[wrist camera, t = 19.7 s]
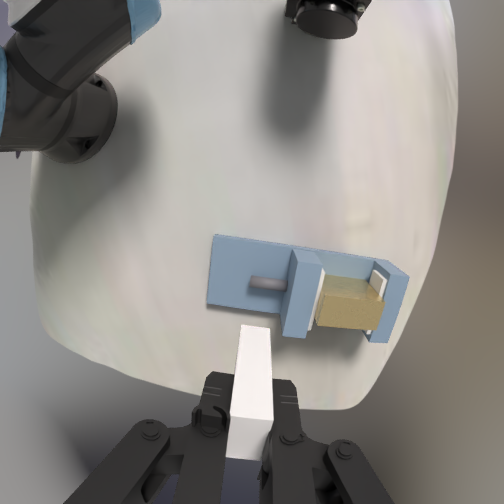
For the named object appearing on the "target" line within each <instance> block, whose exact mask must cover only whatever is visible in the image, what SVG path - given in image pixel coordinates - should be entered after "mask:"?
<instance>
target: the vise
mask: <svg viewBox="0 0 504 504" xmlns="http://www.w3.org/2000/svg"><path fill="white" fill-rule="evenodd" d="M292 249H300V250H306V251H313V252H315V254H316V255H317V257H318V258H319V260H320V261H321V263H322V264H323V267H322V268H323V270H324V271H325V274H327V275H335V276H342V277H349V278H357V279H364V280H366V281H367V282H368V283H369V284H370V285H371V286H372V287H373V289H374V290H375V291H376V292H377V293H378V294H379V295H380V296H381V297H382V298H383V300H384V301H385V302H386V303H385V306H384V309H383V312H382V315H381V318H380V321H379V324H378V327H377V330H362V331H363V333H364V334H365V336H366V338H367V340H368V341H369V342H373V343H388V340H389V338H390V335H391V332H392V330H393V327H394V324H395V321H396V318H397V316H398V313H399V310H400V307H401V304H402V301H403V297H404V294H405V291H406V288H407V284H408V281H409V276H408V275H407V274H405V273H404V272H403V271H401V270H400V269H399V268H397V267H396V266H395V265H393V264H392V263H391V262H389V261H388V260H382V259H376V258H370V257H363V256H357V255H351V254H345V253H338V252H332V251H325V250H319V249H312V248H306V247H299V246H293V245H286V244H279V243H273V242H266V241H259V240H252V239H246V238H239V237H232V236H225V235H218V234H215V235H214V238H213V246H212V255H211V265H210V274H209V284H208V295H207V303H208V304H215V305H221V306H227V307H234V308H241V309H247V310H254V311H262V312H269V313H277V314H280V311H281V306H282V301H283V296H284V292H281V291H274V290H267V289H260V288H253V287H249V285H250V278H251V275H253V276H260V277H267V278H274V279H281V280H287V276H288V271H289V266H290V260H291V255H292ZM314 318H315V317H314Z"/></svg>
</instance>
